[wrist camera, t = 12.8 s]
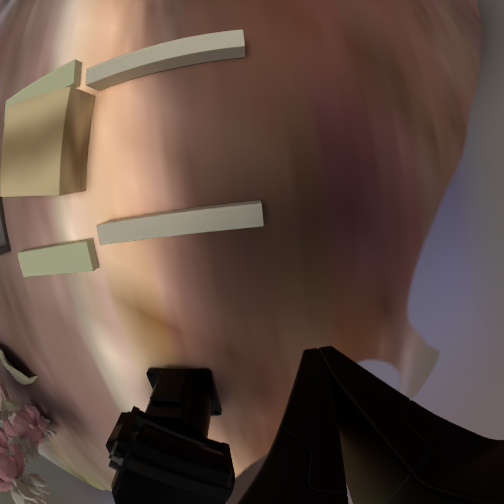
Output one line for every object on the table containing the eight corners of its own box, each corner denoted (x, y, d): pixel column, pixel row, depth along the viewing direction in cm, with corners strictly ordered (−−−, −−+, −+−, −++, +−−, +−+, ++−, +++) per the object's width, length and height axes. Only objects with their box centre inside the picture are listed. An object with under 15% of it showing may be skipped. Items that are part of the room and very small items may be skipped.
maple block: (87, 190, 19) (59, 195, 15) (28, 191, 19) (0, 196, 15) (97, 96, 17) (70, 86, 13) (34, 110, 17) (7, 106, 13)
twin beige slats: (262, 220, 20) (263, 226, 18) (112, 238, 20) (100, 245, 18) (243, 41, 16) (242, 29, 14) (98, 75, 16) (86, 69, 14)
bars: (98, 266, 21) (93, 270, 20) (29, 273, 21) (23, 276, 20) (81, 62, 15) (75, 59, 14) (12, 102, 16) (6, 101, 15)
